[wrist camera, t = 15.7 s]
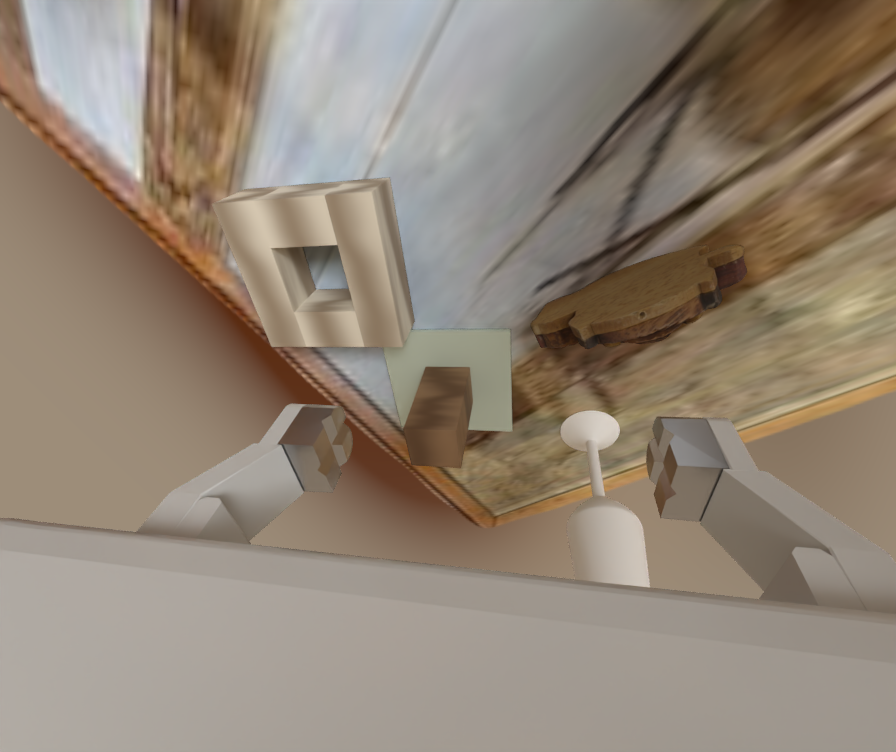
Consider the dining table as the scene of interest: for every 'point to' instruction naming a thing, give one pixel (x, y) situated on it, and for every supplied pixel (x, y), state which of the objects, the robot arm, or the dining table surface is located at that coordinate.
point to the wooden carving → (641, 299)
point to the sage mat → (457, 349)
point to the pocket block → (287, 272)
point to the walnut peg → (440, 417)
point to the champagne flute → (602, 513)
